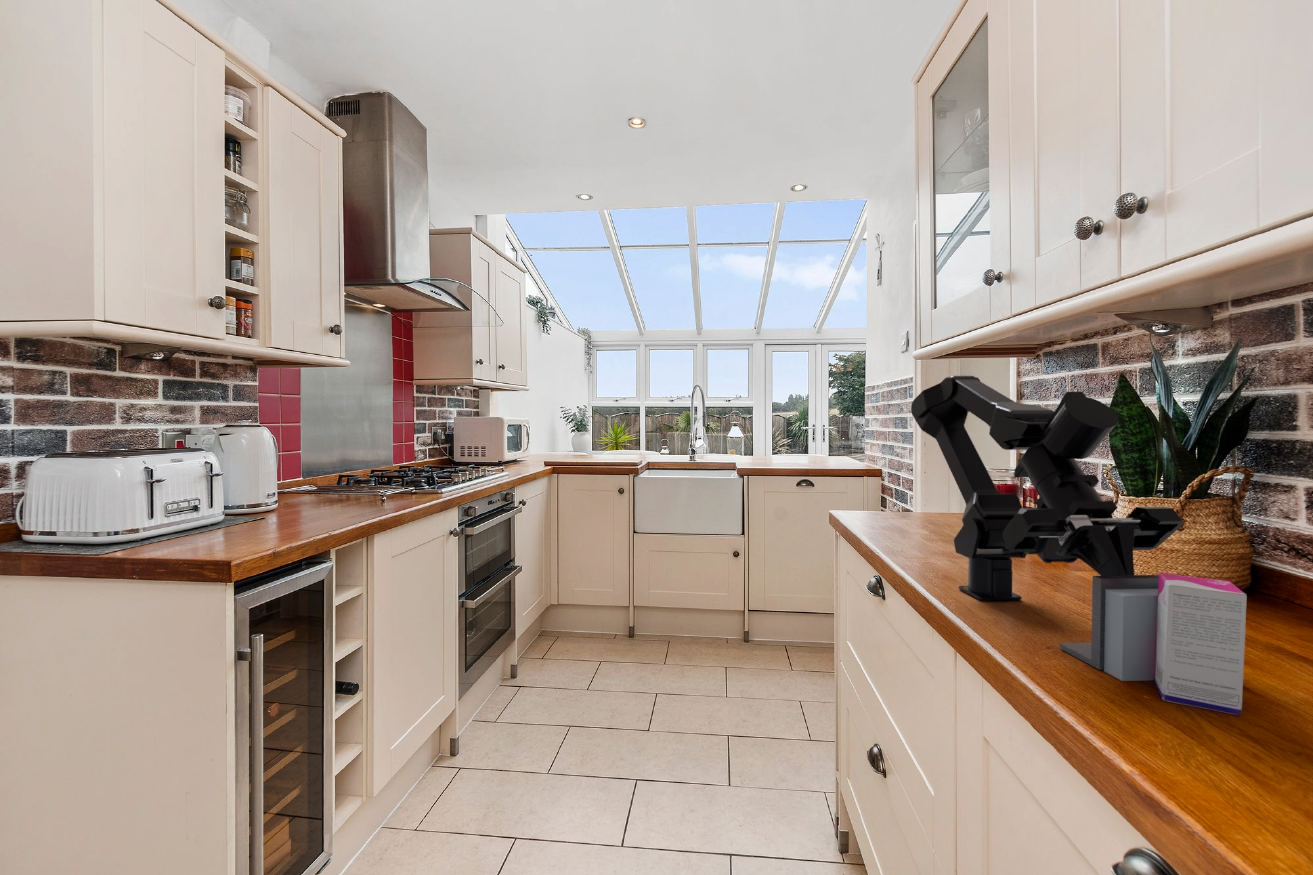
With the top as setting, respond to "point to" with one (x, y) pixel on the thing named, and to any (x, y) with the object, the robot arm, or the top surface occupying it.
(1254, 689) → the top surface
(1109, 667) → the book
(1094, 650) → the bookend
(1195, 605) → the supplement box
